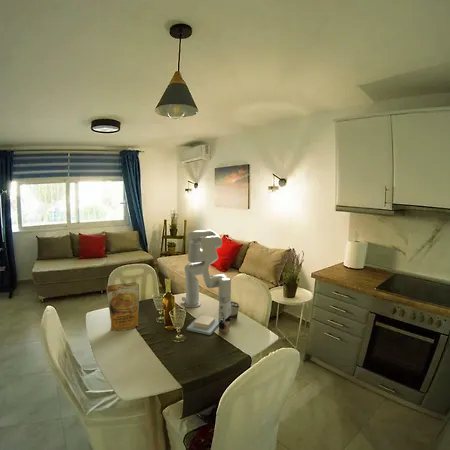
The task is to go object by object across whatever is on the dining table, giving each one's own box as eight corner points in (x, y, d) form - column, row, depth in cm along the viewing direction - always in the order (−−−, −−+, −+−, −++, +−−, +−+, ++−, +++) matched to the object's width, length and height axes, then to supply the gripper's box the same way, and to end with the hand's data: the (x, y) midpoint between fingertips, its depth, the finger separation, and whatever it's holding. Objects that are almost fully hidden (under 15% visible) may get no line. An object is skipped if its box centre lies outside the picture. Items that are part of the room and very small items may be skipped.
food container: (239, 315, 198) (240, 301, 196) (239, 319, 192) (239, 305, 190) (221, 314, 199) (222, 300, 198) (220, 318, 193) (221, 304, 192)
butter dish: (186, 330, 177) (186, 323, 177) (199, 317, 194) (199, 311, 193) (210, 335, 172) (210, 328, 171) (221, 321, 188) (221, 316, 188)
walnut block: (218, 332, 174) (218, 323, 174) (221, 329, 179) (221, 320, 178) (226, 334, 173) (226, 325, 172) (229, 330, 177) (229, 321, 177)
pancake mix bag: (108, 327, 179) (106, 284, 175) (140, 322, 186) (138, 281, 181) (107, 332, 173) (105, 288, 169) (140, 327, 179) (139, 284, 175)
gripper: (225, 304, 163) (225, 332, 166) (235, 294, 179) (234, 320, 182) (213, 302, 166) (213, 330, 168) (224, 292, 182) (223, 318, 184)
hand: (224, 325), depth 175 cm, fingers open, 9 cm apart
